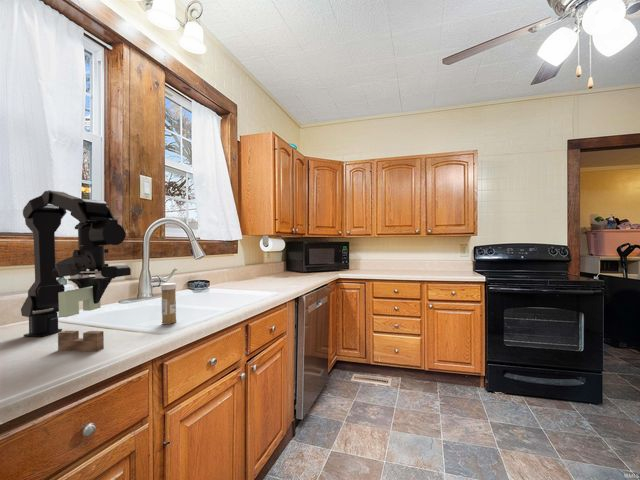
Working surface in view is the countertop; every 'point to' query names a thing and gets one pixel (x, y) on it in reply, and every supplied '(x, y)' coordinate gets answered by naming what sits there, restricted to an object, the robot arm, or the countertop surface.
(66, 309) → the green board
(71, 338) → the walnut rail
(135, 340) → the countertop surface
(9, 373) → the countertop surface
